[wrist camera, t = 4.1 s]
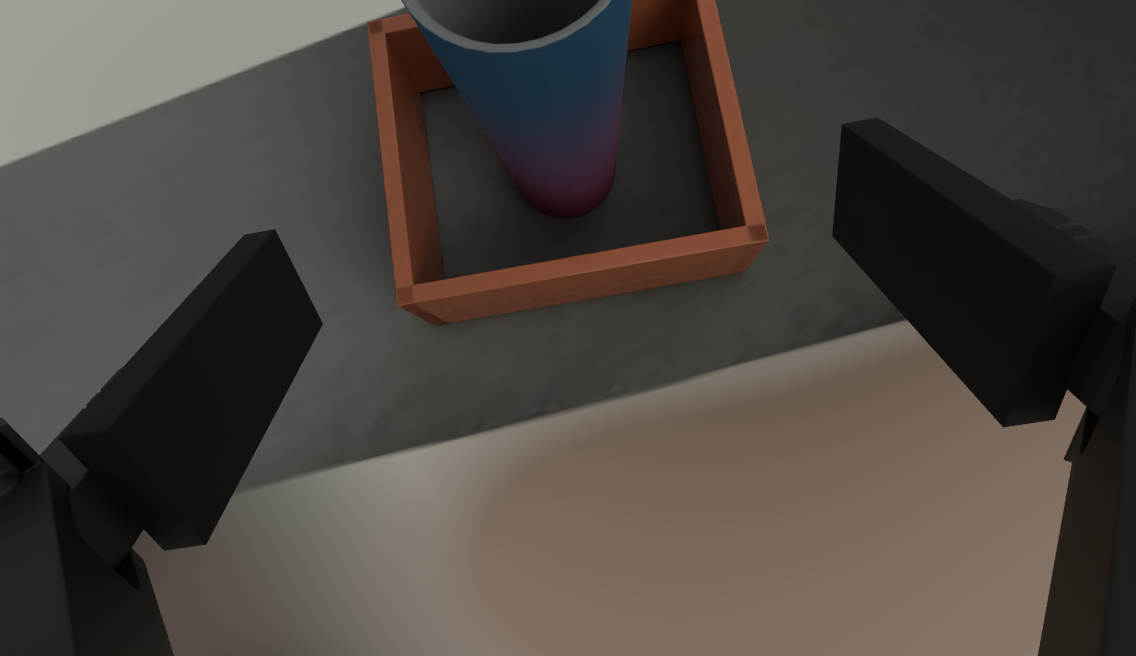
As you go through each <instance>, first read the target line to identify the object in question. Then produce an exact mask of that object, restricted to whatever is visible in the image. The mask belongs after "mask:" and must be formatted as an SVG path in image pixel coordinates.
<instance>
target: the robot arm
mask: <svg viewBox="0 0 1136 656" xmlns="http://www.w3.org/2000/svg"><path fill="white" fill-rule="evenodd" d="M832 236H833V237H834V239H835V240H836V241H837V242H838V243H839V244H840V245H841V246H842V248H843V249H844V250H845V251H846V252H847V253H848V254H849V255H850V256H851V258H852V259H853V260H854V261H855V262H856V263H857V264H858V265H859V267H860V268H861V269H862V270H863V271H864V272H865V273H866V274H867V275H868V277H869V278H870V279H871V280H872V281H873V282H874V283H875V284H876V286H877V287H878V288H879V289H880V290H881V291H882V292H883V293H884V294H885V296H886V297H887V298H888V299H889V300H890V301H891V302H892V303H893V305H894V306H895V307H896V308H897V309H898V310H899V311H900V312H901V313H902V315H903V316H904V317H905V318H906V319H907V320H908V321H909V322H910V324H911V325H912V326H913V327H914V328H915V329H916V330H917V331H918V332H919V334H920V335H921V336H922V337H923V338H924V339H925V340H926V341H927V343H928V344H929V345H930V346H931V347H932V348H933V349H934V350H935V351H936V352H937V354H938V355H939V356H940V357H941V358H942V359H943V360H944V361H945V362H946V364H947V365H948V366H949V367H950V368H951V369H952V371H953V372H954V373H955V374H956V375H957V376H958V377H959V378H960V379H961V381H962V382H963V383H964V384H965V385H966V386H967V387H968V388H969V390H971V392H972V393H973V394H974V395H975V396H976V397H977V398H978V400H980V402H981V403H982V404H983V405H984V406H985V407H986V409H987V410H988V411H989V412H990V413H991V414H992V415H993V416H994V418H995V419H996V420H997V421H998V422H999V423H1000V424H1001V425H1002V426H1003V427H1008V426H1015V425H1022V424H1028V423H1036V422H1042V421H1049V420H1055V418H1056V415H1057V413H1058V410H1059V408H1060V405H1061V403H1062V400H1063V398H1064V396H1065V393H1066V391H1067V389H1068V390H1069V391H1070V392H1071V393H1072V394H1073V395H1074V396H1076V397H1077V398H1078V399H1079V400H1080V401H1081V402H1082V403H1083V404H1084V405H1085V406H1087V407H1086V410H1085V412H1084V414H1083V416H1082V419H1081V421H1080V423H1079V426H1078V428H1077V430H1076V433H1075V435H1074V437H1073V439H1072V442H1071V444H1070V446H1069V448H1068V451H1067V453H1066V455H1065V457H1064V460H1066V461H1069V462H1072V466H1071V472H1070V477H1069V483H1068V489H1067V494H1066V500H1065V506H1064V511H1063V517H1062V523H1061V528H1060V534H1059V540H1058V545H1057V551H1056V556H1055V562H1054V568H1053V574H1052V579H1051V585H1050V591H1049V596H1048V602H1047V607H1046V613H1045V619H1044V624H1043V630H1042V636H1041V641H1040V647H1039V652H1038V656H1136V258H1135V257H1133V256H1132V255H1130V254H1128V253H1126V252H1125V251H1123V250H1121V249H1120V248H1118V247H1116V246H1115V245H1113V244H1111V243H1109V242H1108V241H1106V240H1104V239H1103V238H1101V237H1097V238H1095V234H1094V233H1092V232H1091V231H1089V230H1087V229H1085V228H1084V227H1082V226H1076V225H1075V222H1073V221H1072V220H1070V219H1068V218H1067V217H1065V216H1063V215H1061V214H1060V213H1058V212H1056V211H1055V210H1053V209H1050V208H1047V207H1044V206H1040V205H1037V204H1034V203H1031V202H1027V201H1024V200H1021V199H1018V200H1010V199H1009V198H1007V197H1006V196H1004V195H1002V194H1001V193H999V192H997V191H996V190H994V189H993V188H991V187H989V186H988V185H986V184H984V183H983V182H981V181H980V180H978V179H976V178H975V177H973V176H971V175H970V174H968V173H967V172H965V171H963V170H962V169H960V168H958V167H957V166H955V165H954V164H952V163H950V162H949V161H947V160H945V159H944V158H942V157H941V156H939V155H937V154H936V153H934V152H932V151H931V150H929V149H928V148H926V147H924V146H923V145H921V144H919V143H918V142H916V141H915V140H913V139H911V138H910V137H908V136H906V135H905V134H903V133H902V132H900V131H898V130H897V129H895V128H893V127H892V126H890V125H889V124H887V123H885V122H884V121H882V120H880V119H879V118H873V119H868V120H862V121H857V122H852V123H846V124H842V129H841V141H840V153H839V164H838V176H837V187H836V199H835V210H834V222H833V234H832ZM322 325H323V323H322V321H321V319H320V317H319V315H318V313H317V311H316V309H315V307H314V305H313V303H312V301H311V299H310V297H309V295H308V293H307V291H306V289H305V287H304V285H303V283H302V281H301V280H300V278H299V276H298V274H297V272H296V270H295V268H294V266H293V264H292V262H291V260H290V258H289V256H288V254H287V252H286V250H285V248H284V246H283V244H282V242H281V240H280V238H279V236H278V234H277V232H276V230H275V229H274V230H268V231H263V232H258V233H252V234H247V235H244V236H243V237H242V238H241V239H240V240H239V241H238V242H237V243H236V245H235V246H234V247H233V248H232V249H231V250H230V251H229V252H228V253H227V254H226V255H225V257H224V258H223V259H222V260H221V261H220V262H219V263H218V264H217V265H216V266H215V267H214V269H213V270H212V271H211V272H210V273H209V274H208V275H207V276H206V277H205V278H204V279H203V281H202V282H201V283H200V284H199V285H198V286H197V287H196V288H195V289H194V290H193V291H192V293H191V294H190V295H189V296H188V297H187V298H186V299H185V300H184V301H183V302H182V303H181V305H180V306H179V307H178V308H177V309H176V310H175V311H174V312H173V313H172V314H171V315H170V317H169V318H168V319H167V320H166V321H165V322H164V323H163V324H162V325H161V326H160V327H159V329H158V330H157V331H156V332H155V333H154V334H153V335H152V336H151V337H150V338H149V339H148V340H147V342H146V343H145V344H144V345H143V346H142V347H141V348H140V349H139V350H138V351H137V352H136V354H135V355H134V356H133V357H132V358H131V359H130V360H129V361H128V362H127V363H126V364H125V366H124V367H122V368H121V369H120V370H118V371H117V372H116V373H115V374H114V375H113V377H112V378H111V379H110V380H109V381H108V382H107V383H106V384H105V385H104V386H103V387H102V388H101V392H100V393H97V394H96V395H95V396H94V397H93V398H92V399H91V400H90V402H89V403H88V404H87V407H86V408H85V409H82V410H81V411H80V412H79V413H78V415H77V416H76V417H75V418H74V419H73V420H72V421H71V422H70V423H69V424H68V425H67V426H66V428H65V429H64V430H63V431H62V432H61V433H60V434H59V435H58V436H57V437H56V438H55V439H54V441H53V442H52V443H51V444H50V445H49V446H48V447H47V448H46V449H45V450H44V451H43V453H42V454H41V455H40V456H39V455H38V454H37V453H36V452H35V451H34V450H33V448H32V447H31V446H30V445H29V444H28V443H27V442H26V441H25V440H24V439H23V438H22V437H21V436H20V435H19V434H18V433H17V432H16V431H15V430H14V429H13V428H12V427H11V426H10V425H9V424H8V423H7V422H6V421H5V420H4V419H3V418H0V656H174V654H173V651H172V648H171V645H170V641H169V638H168V635H167V632H166V629H165V626H164V622H163V619H162V616H161V613H160V610H159V606H158V603H157V600H156V597H155V594H154V591H153V588H152V584H151V581H150V578H149V575H148V572H147V568H146V565H145V562H144V561H143V559H142V558H141V557H140V556H139V555H138V554H137V553H136V552H135V551H134V550H133V549H132V546H133V545H134V543H135V542H136V540H137V539H138V537H139V535H140V534H141V532H142V531H143V529H144V530H145V531H146V532H147V533H148V534H149V535H150V536H151V537H152V538H153V539H154V540H155V541H156V542H157V544H158V545H159V546H160V547H161V548H162V549H163V550H172V549H178V548H185V547H191V546H199V545H206V544H207V542H208V540H209V538H210V536H211V534H212V532H213V531H214V529H215V527H216V525H217V523H218V521H219V519H220V517H221V515H222V514H223V511H224V510H225V508H226V506H227V504H228V502H229V500H230V498H231V497H232V495H233V493H234V491H235V489H236V487H237V485H238V483H239V481H240V480H241V478H242V476H243V474H244V472H245V470H246V468H247V466H248V464H249V463H250V461H251V459H252V457H253V455H254V453H255V451H256V449H257V447H258V446H259V444H260V442H261V440H262V438H263V436H264V434H265V432H266V430H267V429H268V427H269V425H270V423H271V421H272V419H273V417H274V415H275V413H276V412H277V410H278V408H279V406H280V404H281V402H282V400H283V398H284V396H285V395H286V393H287V391H288V389H289V387H290V385H291V383H292V381H293V379H294V378H295V376H296V374H297V372H298V370H299V368H300V366H301V364H302V362H303V361H304V359H305V357H306V355H307V353H308V351H309V349H310V347H311V345H312V344H313V342H314V340H315V338H316V336H317V334H318V332H319V330H320V328H321V327H322Z"/></svg>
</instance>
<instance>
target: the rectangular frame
mask: <svg viewBox="0 0 1136 656" xmlns="http://www.w3.org/2000/svg"><path fill="white" fill-rule="evenodd" d="M367 25H368V34H369V44H370V53H371V62H372V72H373V81H374V91H375V100H376V109H377V119H378V128H379V137H380V147H381V156H382V166H383V175H384V184H385V194H386V203H387V213H388V222H389V231H390V241H391V250H392V259H393V269H394V278H395V288H396V299H397V306H399V307H401V308H402V309H404V310H406V311H408V312H410V313H412V314H414V315H416V316H418V317H420V318H421V319H423V320H425V321H427V322H429V323H431V324H433V325H441V324H447V323H452V322H458V321H464V320H470V319H475V318H481V317H487V316H493V315H499V314H504V313H510V312H516V311H522V310H527V309H533V308H539V307H545V306H550V305H556V304H562V303H568V302H574V301H579V300H585V299H591V298H597V297H602V296H608V295H614V294H620V293H626V292H631V291H637V290H643V289H649V288H654V287H660V286H666V285H672V284H677V283H683V282H689V281H695V280H701V279H706V278H712V277H718V276H724V275H729V274H735V273H741V272H745V271H746V270H747V269H748V267H749V266H750V265H751V263H752V262H753V261H754V259H755V258H756V257H757V255H758V254H759V253H760V252H761V250H762V249H763V248H764V246H765V245H766V244H767V242H768V241H769V237H768V232H767V228H766V223H765V219H764V215H763V210H762V206H761V201H760V197H759V192H758V188H757V183H756V179H755V174H754V170H753V166H752V161H751V157H750V152H749V148H748V143H747V139H746V134H745V130H744V125H743V121H742V117H741V112H740V108H739V103H738V99H737V94H736V90H735V85H734V81H733V76H732V72H731V68H730V63H729V59H728V54H727V50H726V45H725V41H724V36H723V32H722V27H721V23H720V19H719V14H718V10H717V5H716V1H715V0H632V8H631V18H630V28H629V38H628V48H627V51H630V50H635V49H640V48H645V47H650V46H655V45H660V44H664V43H669V42H674V41H679V40H680V43H681V47H682V52H683V57H684V62H685V66H686V71H687V76H688V81H689V86H690V90H691V95H692V100H693V105H694V109H695V114H696V119H697V124H698V128H699V133H700V138H701V143H702V147H703V152H704V157H705V162H706V167H707V171H708V176H709V181H710V186H711V190H712V195H713V200H714V205H715V209H716V214H717V219H718V224H719V229H720V230H718V231H713V232H707V233H702V234H696V235H690V236H685V237H679V238H674V239H668V240H662V241H657V242H651V243H646V244H640V245H634V246H629V247H623V248H618V249H612V250H606V251H601V252H595V253H590V254H584V255H578V256H573V257H567V258H562V259H556V260H550V261H545V262H539V263H534V264H528V265H522V266H517V267H511V268H506V269H500V270H494V271H489V272H483V273H478V274H472V275H466V276H461V277H455V278H450V279H444V274H443V266H442V258H441V250H440V242H439V233H438V225H437V217H436V209H435V201H434V192H433V184H432V176H431V168H430V160H429V151H428V143H427V135H426V127H425V119H424V110H423V102H422V94H421V92H426V91H431V90H436V89H441V88H446V87H451V86H455V85H454V83H453V82H452V80H451V79H450V77H449V76H448V74H447V72H446V71H445V69H444V68H443V66H442V64H441V63H440V61H439V60H438V58H437V56H436V55H435V53H434V52H433V50H432V48H431V47H430V45H429V44H428V42H427V40H426V39H425V37H424V36H423V34H422V32H421V31H420V29H419V28H418V26H417V24H416V23H415V21H414V20H413V18H412V16H411V15H410V13H408V14H403V15H399V16H394V17H389V18H384V19H379V20H374V21H369V22H367Z"/></svg>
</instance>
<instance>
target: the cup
mask: <svg viewBox="0 0 1136 656" xmlns="http://www.w3.org/2000/svg"><path fill="white" fill-rule="evenodd" d="M402 2H403V4H404V5H405V7H406V9H407V10H408V12H409V13H410V15H411V16H412V18H413V20H414V21H415V23H416V24H417V26H418V28H419V29H420V31H421V32H422V34H423V36H424V37H425V39H426V40H427V42H428V44H429V45H430V47H431V48H432V50H433V52H434V53H435V55H436V56H437V58H438V60H439V61H440V63H441V64H442V66H443V68H444V69H445V71H446V72H447V74H448V76H449V77H450V79H451V80H452V82H453V83H454V85H455V87H456V88H457V90H458V91H459V93H460V95H461V96H462V98H463V99H464V101H465V103H466V104H467V106H468V107H469V109H470V111H471V112H472V114H473V115H474V117H475V119H476V120H477V122H478V123H479V125H480V127H481V128H482V130H483V131H484V133H485V135H486V136H487V138H488V139H489V141H490V142H491V144H492V146H493V147H494V149H495V150H496V152H497V154H498V155H499V157H500V158H501V160H502V162H503V163H504V165H505V166H506V168H507V170H508V171H509V173H510V174H511V176H512V178H513V179H514V181H515V182H516V184H517V186H518V187H519V189H520V190H521V192H522V194H523V195H524V197H525V198H526V200H527V201H528V202H529V203H530V204H531V205H532V206H533V207H534V208H535V209H537V210H538V211H540V212H541V213H544V214H546V215H549V216H552V217H557V218H571V217H577V216H580V215H583V214H585V213H588V212H589V211H591V210H593V209H594V208H596V207H597V206H598V205H599V204H600V203H601V202H602V201H603V200H604V199H605V197H606V196H607V195H608V193H609V191H610V189H611V187H612V184H613V180H614V176H615V166H616V157H617V147H618V137H619V127H620V117H621V107H622V97H623V87H624V78H625V68H626V58H627V48H628V38H629V28H630V18H631V8H632V0H402Z"/></svg>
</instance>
